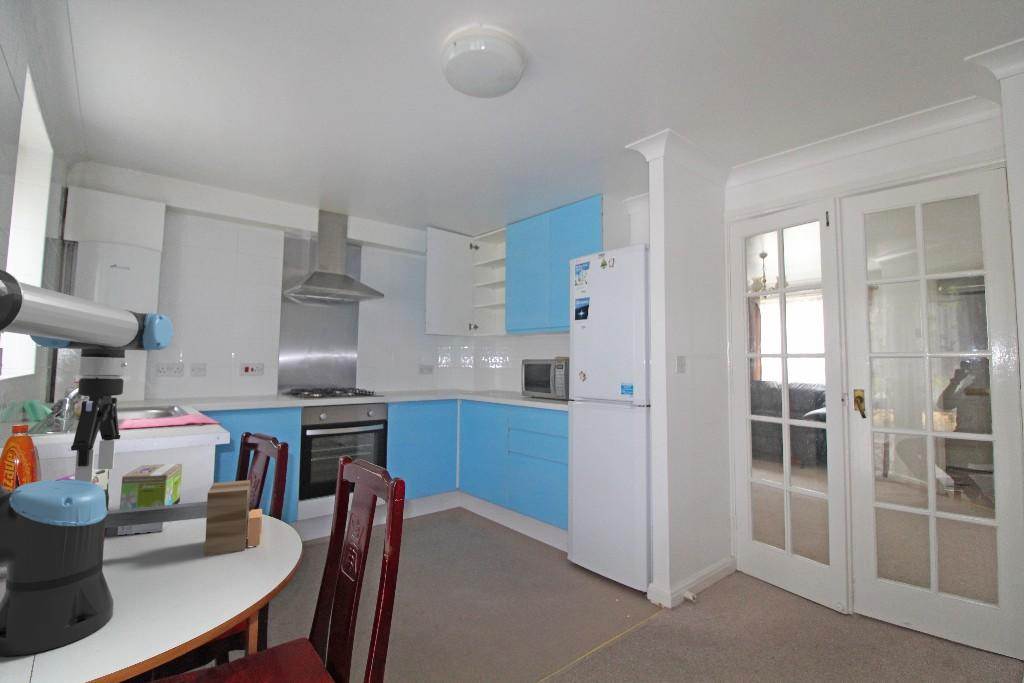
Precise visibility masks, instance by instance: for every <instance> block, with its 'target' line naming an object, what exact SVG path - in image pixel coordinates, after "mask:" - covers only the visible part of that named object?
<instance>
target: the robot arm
mask: <svg viewBox="0 0 1024 683" xmlns="http://www.w3.org/2000/svg"><path fill="white" fill-rule="evenodd" d="M173 330H174V329H173V325H172V322H171V320H170V319H169V318H168V317H167V316H166V315H164V314H161V313H152V312H146V313H143V312H141V313H140V312H136V311H131V310H128V309H123V308H120V307H115V306H112V305H108V304H106V303H105V304H104V303H101V302H97V301H93V300H89V299H87V298H82V297H79V296H74V295H70V294H67V293H62V292H59V291H55V290H51V289H49V288H48V289H47V288H43V287H40V286H36V285H32V284H30V283H29V284H28V283H25V282H20V281H18V279H17V278H16V277H15V276H14V275H12V274H11V273H9V272H8V271H6V270H3V269H0V332H5V333H14V334H21V335H26V336H27V335H28V336H29V337H30V339H31V340H32V341H33V342H34V343H35V344H36V345H39V346H41V347H45V348H52V349H54V350H57V349H67V350H69V349H70V350H71V349H72V350H80V351H81V352H80V360H79V372H78V373H79V376H81V378H80V379H79V380H78V391H77V394H78V395H79V396H83V397H89V398H88V400H86V401H85V400H84V401H82V402H81V408H80V414H79V419H78V423H77V425H76V426H77V427H76V430H75V435H74V438H73V443H72V445H71V446H70V450H71V451H76V455H75V456H76V457H75V458H76V459H75V471H74V472H75V473H74V474H75V480H59V481H55V480H52V479H51V480H49V479H48V480H40V481H33V482H30V483H26V484H21V485H19V486H18V487H16V488H15V489H14V490H12V491H10V490H7V489H5V488H4V486H3V485H2V482H0V568H6V573H5V574H6V575H5V576H6V577H5V578H6V579H5V591H4V593H3V596H2V598H1V601H0V656H1V657H13V656H16V657H17V656H23V655H30V654H37V653H41V652H44V651H48V650H52V649H55V648H59V647H62V646H66V645H68V644H71V643H73V642H77V641H79V640H80V639H83V638H86V637H88V636H90V635H92V634H93V633H95V632H97V631H99V630H100V629H102V628H103V627H105V625H107V624H108V623H109V622H110V620H111V619H112V618H113V615H114V598H113V595H112V592H111V591H110V589H109V585H108V582H107V581H106V578H105V575H104V573H103V565H104V564H103V560H104V548H105V535H106V534H105V518H106V515H107V508H106V496H105V492H104V490H103V489H102V488H101V487H100V486H99V485H97V484H94V483H91V482H92V481H93V469H95V468H94V467H95V452H96V449H95V448H94V445H95V443H96V439H97V437H98V433H100V437H101V440H99V444H98V445H99V446H98V458H97V459H98V460H97V462H98V463H97V469H98V470H101V469H109V470H113V469H114V467H115V450H116V440H120V439H121V434H120V431H119V430H120V429H119V420H118V419H119V418H118V410H117V409H118V408H117V402H118V399H117V397H114V396H120V395H122V394H124V379H123V378H121V377H122V376H124V374H125V367H128V362H125V358H126V350H127V351H147V352H150V351H161V350H164V349H166V348H167V347H168V346H169V345H170V344H171V341H172V338H173V333H174V331H173ZM112 396H113V397H112ZM104 534H105V535H104Z"/></svg>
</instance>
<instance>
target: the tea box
mask: <svg viewBox="0 0 1024 683" xmlns="http://www.w3.org/2000/svg"><path fill="white" fill-rule="evenodd" d="M182 470H183V464H182V463H170V464H169V463H168V464H167V463H166V464H145V465H141V466H139V467H137V468H136V469H133V470H132V471H130V472H128V473H126V474H124V475H123V476H122V478H121V489H120V501H119V509H128V508H139V507H151V506H162V505H173V504H181V503H180V502H181V490H182V489H181V486H182V474H183V471H182ZM171 522H172V521H170V522H160V523H150V524H140V525H130V526H120V527H117V535H118V536H120V535H121V536H122V535H124V536H125V534H127V535H136V534H135V533H140V534H147V532H151V533H158V532H157V531H161V532H163V531H164V530H165V529H166V528H167V527H168V526H169V525H170V524H171Z"/></svg>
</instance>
